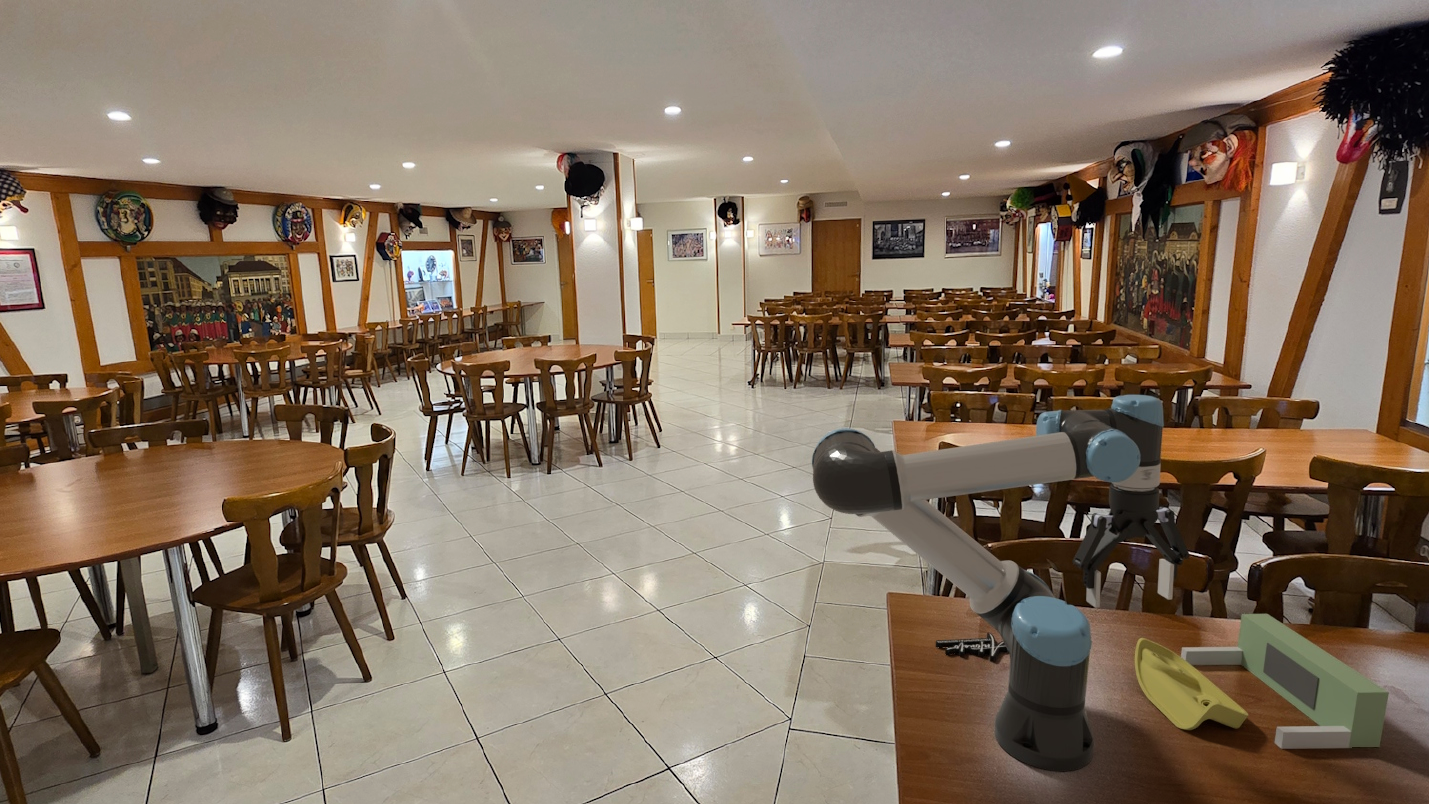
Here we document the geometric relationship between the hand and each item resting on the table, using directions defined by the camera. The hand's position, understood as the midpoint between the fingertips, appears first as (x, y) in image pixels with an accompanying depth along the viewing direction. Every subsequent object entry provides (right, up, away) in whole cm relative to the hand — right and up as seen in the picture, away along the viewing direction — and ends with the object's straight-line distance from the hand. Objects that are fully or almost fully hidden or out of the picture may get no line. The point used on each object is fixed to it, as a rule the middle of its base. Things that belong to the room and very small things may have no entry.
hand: (1129, 600), depth 131 cm
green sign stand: (+28, -19, +3) cm, 34 cm away
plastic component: (+12, -20, +4) cm, 23 cm away
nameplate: (-13, -17, +22) cm, 31 cm away
